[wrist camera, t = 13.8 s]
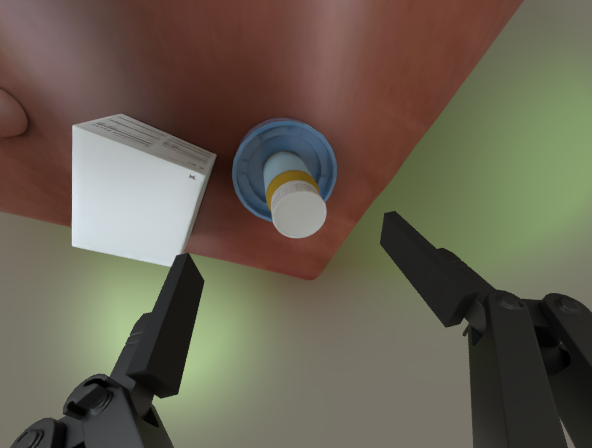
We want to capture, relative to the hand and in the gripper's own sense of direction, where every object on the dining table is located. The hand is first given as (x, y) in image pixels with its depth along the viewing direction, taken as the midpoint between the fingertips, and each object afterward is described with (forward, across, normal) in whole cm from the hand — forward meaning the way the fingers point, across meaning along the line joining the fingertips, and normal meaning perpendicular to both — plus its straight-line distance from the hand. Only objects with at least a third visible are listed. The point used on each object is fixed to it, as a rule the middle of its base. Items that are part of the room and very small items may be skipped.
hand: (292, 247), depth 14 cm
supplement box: (+25, -18, -2) cm, 31 cm away
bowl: (+24, +2, -4) cm, 25 cm away
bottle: (+24, +2, -4) cm, 24 cm away
